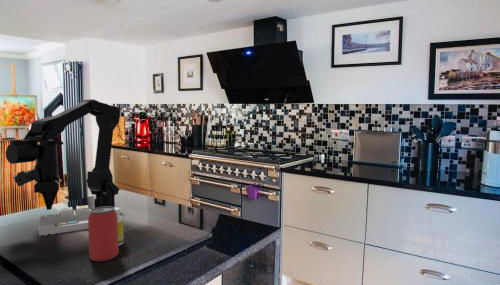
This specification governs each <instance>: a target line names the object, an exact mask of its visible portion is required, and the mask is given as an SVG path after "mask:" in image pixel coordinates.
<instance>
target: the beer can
mask: <svg viewBox="0 0 500 285" xmlns="http://www.w3.org/2000/svg"><path fill="white" fill-rule="evenodd" d="M90 209H91V208H90ZM87 230H88V251H89V259H90V260H91V261H94V262H106V261H109V260H113V259H114V258H116V257H118V256H119V255H118V254H119V253H120V251H119V246H118V219H117V214H116V212H115V208H114V207H110V206H105V207H97V208H94V207H93V208H92V209H91V210H90V215H89V218H88V229H87Z"/></svg>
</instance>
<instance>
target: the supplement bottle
mask: <svg viewBox="0 0 500 285" xmlns="http://www.w3.org/2000/svg"><path fill="white" fill-rule="evenodd" d="M114 208H115V212H116V214H117V219H118V247H119V246H122V245H123V244H124V236H125V235H124V218H123V216H122V215H120V214H121V208H120V207H118V206H115V207H114Z"/></svg>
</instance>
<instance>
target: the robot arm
mask: <svg viewBox="0 0 500 285" xmlns="http://www.w3.org/2000/svg"><path fill="white" fill-rule="evenodd" d="M88 114H90V115H92V116H93V117H95V122H96V124H97V127H98V135H97V136H98V137H97V144H96V154H95V161H94V167H93V168H92V170H91V171H90V170H89V171H87V173H86V174H87V178H86V181H85V184H87V188H88V189H89V192H90V193H91V195H92V196H93V195H95V196H94V197H95V198H94V199H93V209H94V208H97V207H105V206H110V207H116V202H115V196H116V195H119V191H120V188H119V187H118V186H117V185H116V184H115V183H114V182H113V181H114V180H113V179H114V178H113V173H112V171H111V168H110V165H111V163H110V162H111V156H112V146H113V137H114V130H115V128H116V127H117V126H118V124H119V122H120V117H121V110H120V109H119V108H118V106H117V105H110V104H107V103H104V102H101V101H99V100H96V99H93V98H92V99H91V98H90V99H83V100H82V101H81V102H79V103H77V104H75V105H73V106H71V107H69V108H67V109H65V110H63V111H62V112H60V113H58V114H56V115H51V116H47V117H46V116H45V117H42V118H40V119H36V120H34V121H33V122H32V123H31V124H30V125H31V126H30V129H29V130H28V132H27V133H26V135H25V136H24V137H23V139H10V140H9V144H8V145H7V147H6V150H5V158H6V161H7V162H8V163H9V164H11V165H13V164H14V165H15V164H23V163H24V164H25V163H32V162H35V164H34V168H32V169H29V170H26V171H24V170H22V171H20V172H17V174H16V175H14V176H13V180H14V182H15V183H16V185H17V187H22V186H24V185H26V184H28V183H30V182H33V181H34V182H35V183H34V185H33V193H34V194H35V193H36V194H38V193H39V194H41V196H42V198H43V201H44V204H45V208H46V210H47V211H49V210H50V211H51V210H52V208H53V206H54V204H55V203H54V202H55V200H56V197H57V195H58V192H59V191H60V175H59V167H58V165H59V164H58V145H59V146H63V145H64V142H63V141H62V140H60V139H59V137H58V136H59V135H61V134H62V133H63V132H64V130H66V128H67V126H68V125H71V124H72V123H74V122H76V121H77V120H78V121H79V120H80V119H81V118H83V117H84V116H87V115H88Z"/></svg>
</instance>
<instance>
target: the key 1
mask: <svg viewBox="0 0 500 285" xmlns="http://www.w3.org/2000/svg"><path fill="white" fill-rule="evenodd" d="M53 213H54V214H52V213H45V214H46V215H44V214H43V215H44V216H43V219H44V218H51V217H56V213H57V212H53Z"/></svg>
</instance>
